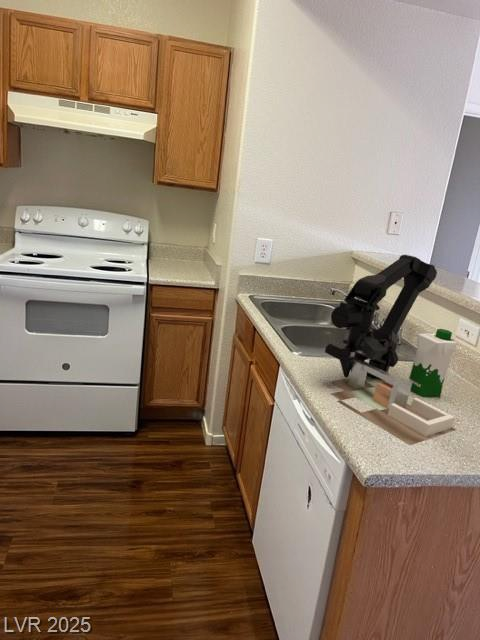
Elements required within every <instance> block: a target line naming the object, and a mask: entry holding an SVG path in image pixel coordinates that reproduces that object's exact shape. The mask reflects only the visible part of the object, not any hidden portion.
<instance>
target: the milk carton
mask: <svg viewBox="0 0 480 640" xmlns="http://www.w3.org/2000/svg"><path fill="white" fill-rule="evenodd" d="M452 335H453V332H452V331H450V330H448V329H444V328H437V330H436V333H427V332H424V333H417V343H416V344H417V345H416V346H417V347H416V350H415V351H416V352H415V355H414V359H413V363H412V366H411V371H410V373H409V377H408V380H410V381H412V386H411V389H410V392H413V393H414V394H416V395H418V397H422V398H435V397H436V398H439V399H440V398H441V395H442V391H443V385H444V382H445V378H446V375H447V373H448V372H447V371H448V368H449V366H450V361H451V358H452V356H453V354H454V351H455V349H456V348H457V345H458V342H457V341H455V340H453V339H452Z"/></svg>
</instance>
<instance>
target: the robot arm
mask: <svg viewBox="0 0 480 640" xmlns="http://www.w3.org/2000/svg"><path fill="white" fill-rule="evenodd" d="M437 274H438V271H437V269H436V266H435V264H431V263H426V262H424V261H423V260H421V258H419V257H416V256H413V255H409V254H401V255H400V256H399V258H398V259H397V260H395V261H394V262H393V263H391V264H389V265H388V266H386V267H385V268H384V269H382V270H381V271H379V272H378V273H376V274H372V275H365V276H363V277H361V278H360V279H358V280H357V281H356V282H355V283H354V284H353V286H352V288H351V289H350V291H349V292H348V294H347V295H346V297H345V298H344V301H341V302H340V303H339V306H336V307H335V308H334V309H333V310H332V311H331V315H330V319H331V323H332V324H333V326H334V327H336V328H337V329H346V330H347V331H348V332H347V337H346V338H345V339H343V342H342V343H343V344H341V343H340V342H337V341H336V342H331V343H327V344H326V345H325V350H324V353H325V354H327V355H329V356H331V357H333V358H335V359H337V360H339V363H340V366H341V370H342V374H343V377H344V378H345V379H349V377H350V376H349V375H350V374H351V371H352V367H353V362H354V361H355V360H363V361H365V362H366V361H367V360H368V363H369V364H370V365H372V366H374V367H376V368H378V369H380V370H383V371H385V372H387V373H389V369H390V367H392V368H395V366H397V364H398V362H399V356H398V353H397V351H396V349H397V346H398V337H397V335H398V332H399V331H400V329H401V327H402V326H403V324H404V322H405V320H406V319H407V316H408V314H409V313H410V311H411V309H412V307H413V305H414V303H415V302H416V300H417V297H418V296H419V294H421V293H422V292H423V291H425V290H427V289H428V288H429V287H430V286H431V284H432V283H433V281H434V280H436V277H437ZM402 279H403V287H402V288H401V290H400V292H399V294H398V296H397V298H396V299H395V301H394V303H393V305H392V306H391V309H390V310H389V312H388V313H387V316H386V317H385V320H384V321H383V323H382V325H381V326H380V327H379V328H373V329H372V326H373V322H374V317H375V313H376V311H379V310H380V306H379V305H378V303H379V302H381V301H382V300H383V299H384V298H385V297H386V295H387V292H388V291H387V290H389V288H391V287H392V286H393V285H395V284H396V283H397V282H399V281H400V280H402ZM366 377H367V378H370V379H371V380H373V379H374V380H376V379H377V380H382V379H381V378H379V377H377V376H375V375H373V374H370V373H368V372H367V375H366Z"/></svg>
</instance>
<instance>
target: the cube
mask: <svg viewBox="0 0 480 640" xmlns="http://www.w3.org/2000/svg"><path fill="white" fill-rule="evenodd" d="M375 387H376V388H375V393H374V397H373V401H375V402H377V403H378V404H380V405H382V406H384V407H386V408H387V407H388V403H389V399H390V395H391V391H392V387H393V384H391V383H389V382H387V381H385V380H383V381H381V382H377V383H376V386H375Z"/></svg>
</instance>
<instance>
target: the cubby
mask: <svg viewBox="0 0 480 640" xmlns="http://www.w3.org/2000/svg"><path fill="white" fill-rule="evenodd" d="M410 405H411V410H413V411H415V412H417V413H419V414H421V415H423V416H424V417H426V418H428V419H430V420H429V421H426V420H424V419H422V418H421V417H419V416H417V415H415V414H413V413H411V412H410V411H408V410H406V409H404V408H402V407H400V406H398V405H397V404H395V403H393V404H390V408H389V412H388V415H389V416H390V417H392V418H394V419H396V420H397V421H399V422H401V423H403V424H405V425H406V426H408V427H410V428H412V429H413V430H415V431H417V432H419V433H420V434H422V435H424V436H429V435H432V434H435V433H438V432H441V431H444V430H447V429H451V428H453V425H454V422H455V418H456V417H455V416H453V415H452V414H449V413H447V412H446V411H443V410H442V409H439V408H438V407H435V406H433V405H431V404H429V403H428V402H426V401H423V400H422V399H419V398H418V397H415V398H412V402H411V404H410Z"/></svg>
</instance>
